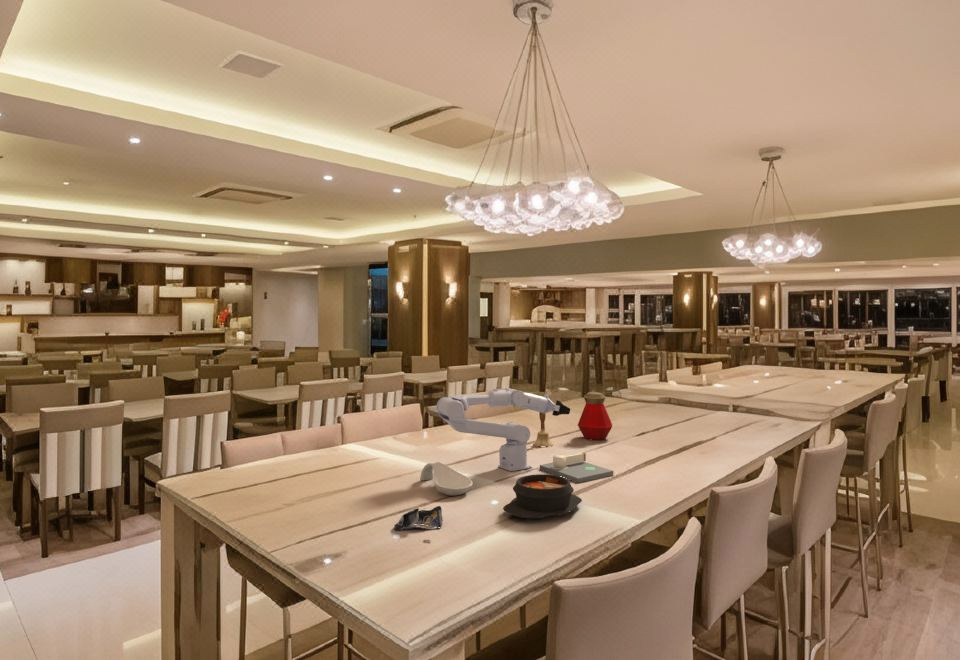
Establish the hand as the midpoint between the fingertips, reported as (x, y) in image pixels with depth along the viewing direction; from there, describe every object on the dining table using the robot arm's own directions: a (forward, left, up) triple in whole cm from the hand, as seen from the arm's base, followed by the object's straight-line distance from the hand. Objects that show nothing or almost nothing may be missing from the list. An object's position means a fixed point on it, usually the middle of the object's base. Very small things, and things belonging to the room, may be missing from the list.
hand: (563, 409), depth 217 cm
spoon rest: (-55, -5, -19) cm, 58 cm away
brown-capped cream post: (-7, -11, -17) cm, 21 cm away
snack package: (-76, -30, -20) cm, 84 cm away
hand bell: (+9, +24, -19) cm, 32 cm away
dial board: (-8, -15, -19) cm, 26 cm away
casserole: (-42, -39, -19) cm, 60 cm away
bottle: (+36, +21, -19) cm, 46 cm away
